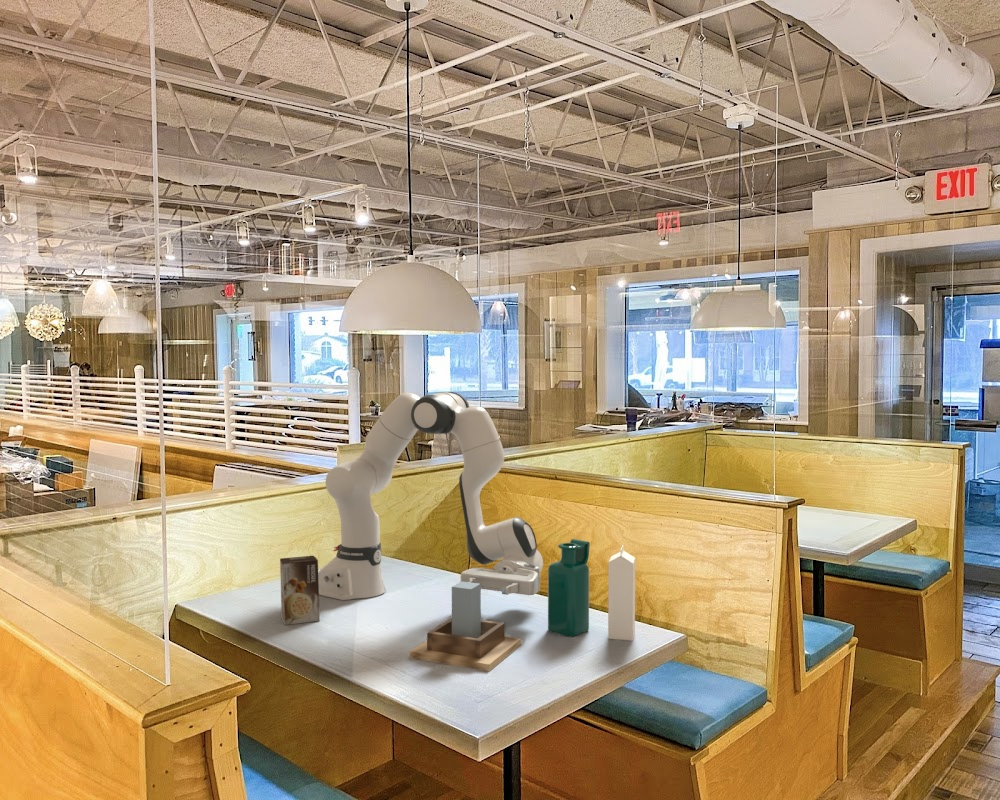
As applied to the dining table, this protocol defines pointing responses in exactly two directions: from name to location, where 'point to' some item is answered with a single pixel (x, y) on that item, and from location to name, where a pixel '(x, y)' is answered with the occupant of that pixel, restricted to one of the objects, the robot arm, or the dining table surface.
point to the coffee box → (299, 590)
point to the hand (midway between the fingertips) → (486, 588)
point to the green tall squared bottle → (569, 590)
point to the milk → (621, 596)
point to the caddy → (467, 646)
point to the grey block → (466, 609)
